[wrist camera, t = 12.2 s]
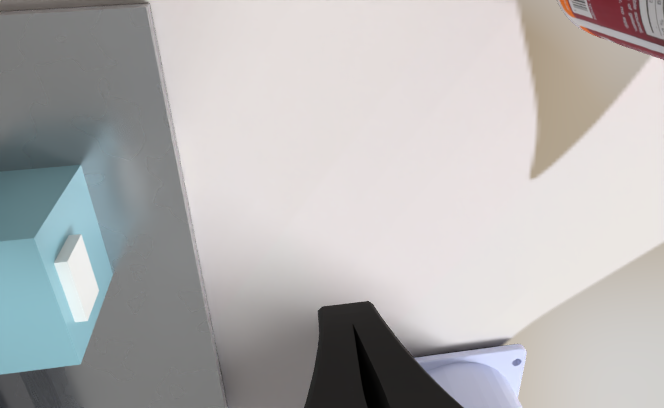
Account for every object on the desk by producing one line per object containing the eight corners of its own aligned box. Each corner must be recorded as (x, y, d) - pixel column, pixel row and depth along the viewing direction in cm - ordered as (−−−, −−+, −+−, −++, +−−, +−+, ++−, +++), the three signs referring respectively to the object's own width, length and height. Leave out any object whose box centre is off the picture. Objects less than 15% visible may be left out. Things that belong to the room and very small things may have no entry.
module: (123, 273, 22) (93, 363, 18) (11, 285, 21) (-49, 380, 17) (92, 163, 19) (48, 236, 15) (-36, 174, 19) (-118, 253, 15)
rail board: (232, 431, 29) (231, 483, 26) (38, 459, 28) (17, 516, 25) (149, 3, 18) (133, 19, 15) (-174, 21, 17) (-251, 42, 14)
